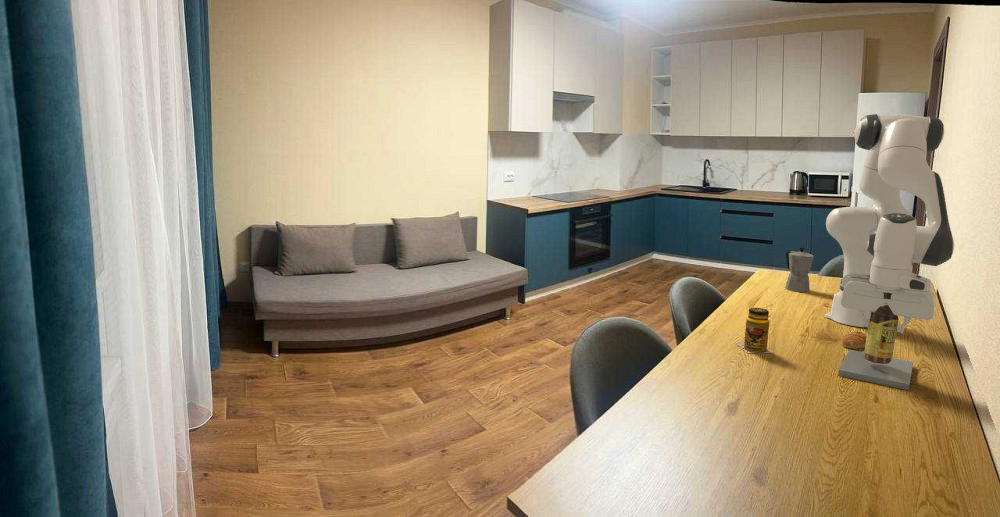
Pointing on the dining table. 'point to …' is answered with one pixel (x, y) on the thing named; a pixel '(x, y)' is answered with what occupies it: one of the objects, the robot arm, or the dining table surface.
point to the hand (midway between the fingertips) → (882, 329)
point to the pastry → (854, 340)
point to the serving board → (877, 370)
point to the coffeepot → (798, 270)
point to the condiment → (756, 331)
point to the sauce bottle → (881, 334)
